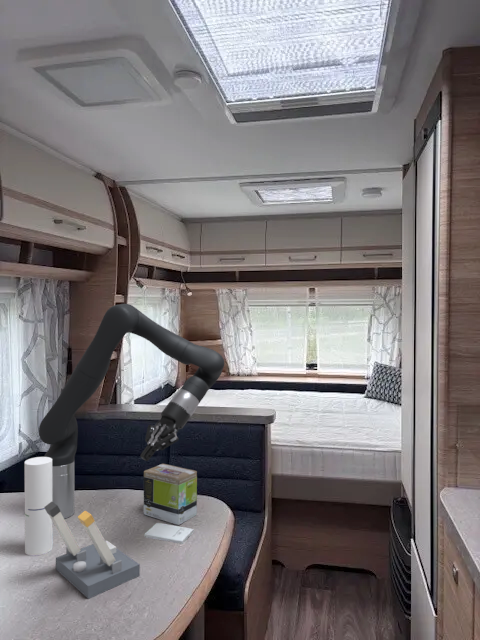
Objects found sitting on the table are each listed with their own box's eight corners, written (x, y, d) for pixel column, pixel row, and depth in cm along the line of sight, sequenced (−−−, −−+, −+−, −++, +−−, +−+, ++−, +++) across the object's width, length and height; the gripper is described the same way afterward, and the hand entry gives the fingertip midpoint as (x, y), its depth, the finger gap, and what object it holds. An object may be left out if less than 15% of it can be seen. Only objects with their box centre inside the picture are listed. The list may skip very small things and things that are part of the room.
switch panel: (55, 569, 126) (55, 548, 126) (104, 550, 136) (104, 531, 136) (88, 598, 114) (88, 576, 114) (139, 575, 124) (139, 554, 123)
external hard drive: (157, 527, 152) (194, 533, 148) (144, 539, 144) (182, 545, 140) (157, 522, 152) (194, 528, 148) (144, 533, 144) (182, 540, 140)
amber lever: (103, 564, 123) (76, 516, 118) (110, 558, 124) (83, 509, 119) (112, 571, 120) (84, 522, 114) (119, 564, 121) (92, 515, 116)
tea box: (197, 515, 160) (198, 470, 159) (178, 526, 151) (178, 479, 151) (162, 504, 168) (163, 462, 167) (142, 515, 159) (142, 470, 159)
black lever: (69, 554, 128) (43, 506, 122) (76, 548, 129) (50, 500, 124) (77, 561, 125) (50, 511, 119) (84, 554, 126) (58, 505, 121)
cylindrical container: (42, 557, 132) (42, 466, 131) (19, 554, 134) (18, 463, 133) (57, 544, 139) (57, 457, 138) (35, 541, 141) (34, 456, 140)
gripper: (159, 397, 145) (122, 445, 137) (187, 404, 135) (148, 457, 127) (174, 412, 149) (138, 460, 140) (201, 420, 139) (165, 473, 131)
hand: (143, 458), depth 134 cm, fingers closed
